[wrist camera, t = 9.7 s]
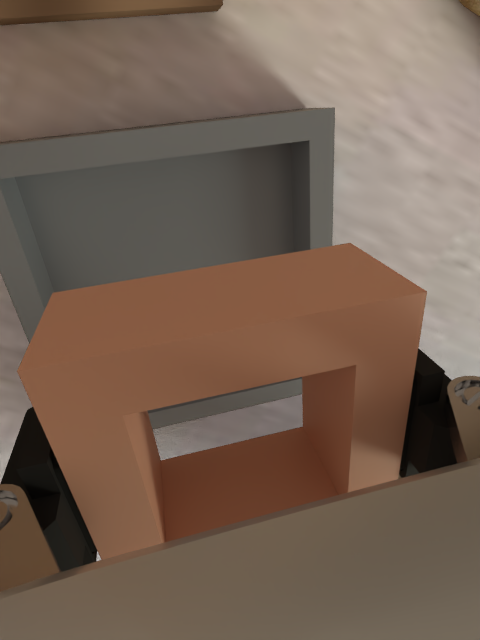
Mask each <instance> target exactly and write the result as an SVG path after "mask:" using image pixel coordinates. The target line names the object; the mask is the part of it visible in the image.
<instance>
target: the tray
mask: <svg viewBox="0 0 480 640" xmlns="http://www.w3.org/2000/svg"><path fill="white" fill-rule="evenodd" d="M334 125H335V108H306V109H297V110H288V111H279V112H270V113H261V114H252V115H243V116H234V117H225V118H216V119H207V120H198V121H189V122H180V123H171V124H162V125H153V126H144V127H135V128H126V129H117V130H108V131H99V132H90V133H81V134H72V135H62V136H53V137H44V138H35V139H26V140H17V141H8V142H0V272H1V275H2V277H3V280H4V282H5V285H6V287H7V290H8V292H9V294H10V297H11V299H12V302H13V304H14V307H15V309H16V312H17V314H18V317H19V319H20V322H21V324H22V326H23V329H24V331H25V334H26V336H27V339H28V341H29V344H30V342H31V339H32V337H33V335H34V333H35V331H36V328H37V326H38V324H39V322H40V319H41V317H42V315H43V313H44V311H45V308H46V306H47V304H48V302H49V300H50V297H51V295H52V293H55V292H61V291H67V290H73V289H78V288H84V287H90V286H96V285H102V284H108V283H114V282H120V281H126V280H132V279H138V278H144V277H150V276H156V275H162V274H168V273H174V272H180V271H186V270H192V269H198V268H204V267H210V266H216V265H222V264H228V263H234V262H239V261H245V260H251V259H257V258H263V257H269V256H275V255H281V254H287V253H293V252H299V251H305V250H311V249H317V248H323V247H329V246H332V229H333V177H334ZM300 394H302V377H299V378H294V379H290V380H285V381H281V382H276V383H271V384H267V385H262V386H258V387H253V388H249V389H244V390H239V391H235V392H230V393H226V394H221V395H217V396H212V397H207V398H203V399H198V400H194V401H189V402H184V403H180V404H175V405H171V406H166V407H162V408H157V409H152V410H148V415H149V419H150V423H151V426H152V429H156V428H160V427H165V426H169V425H173V424H177V423H182V422H186V421H190V420H194V419H199V418H203V417H207V416H211V415H216V414H220V413H224V412H228V411H233V410H237V409H241V408H245V407H250V406H254V405H258V404H262V403H266V402H271V401H275V400H279V399H283V398H288V397H292V396H296V395H300Z"/></svg>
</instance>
